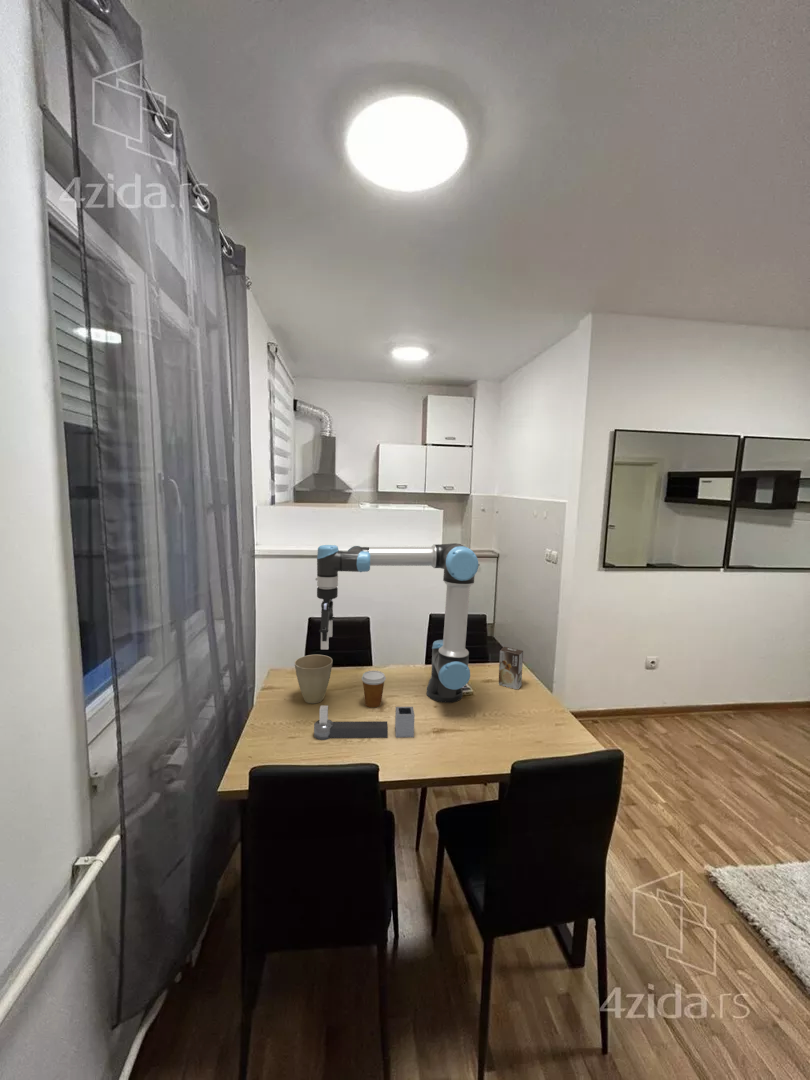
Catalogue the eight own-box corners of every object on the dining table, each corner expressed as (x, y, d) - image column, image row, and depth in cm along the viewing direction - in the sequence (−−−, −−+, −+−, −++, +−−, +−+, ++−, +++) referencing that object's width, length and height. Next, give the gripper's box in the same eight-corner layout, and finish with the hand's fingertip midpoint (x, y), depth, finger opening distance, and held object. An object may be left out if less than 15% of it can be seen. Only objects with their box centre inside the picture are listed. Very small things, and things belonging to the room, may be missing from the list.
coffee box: (522, 685, 195) (524, 650, 194) (517, 690, 190) (520, 654, 188) (502, 680, 200) (504, 646, 198) (497, 685, 195) (499, 650, 193)
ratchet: (386, 729, 155) (387, 702, 154) (387, 739, 149) (388, 711, 148) (315, 729, 154) (315, 702, 153) (312, 740, 147) (313, 712, 146)
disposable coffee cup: (381, 711, 168) (382, 681, 167) (357, 708, 170) (358, 678, 169) (387, 699, 177) (388, 671, 176) (364, 697, 179) (365, 668, 178)
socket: (412, 727, 157) (412, 706, 156) (413, 737, 151) (414, 715, 150) (394, 727, 157) (395, 706, 156) (395, 737, 150) (396, 715, 150)
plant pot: (326, 688, 186) (327, 652, 184) (336, 704, 172) (337, 665, 171) (290, 694, 179) (291, 657, 178) (298, 711, 166) (298, 671, 164)
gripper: (321, 580, 173) (320, 631, 176) (312, 594, 149) (311, 654, 151) (340, 580, 174) (339, 632, 176) (334, 595, 149) (333, 655, 151)
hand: (326, 642), depth 164 cm, fingers open, 13 cm apart
